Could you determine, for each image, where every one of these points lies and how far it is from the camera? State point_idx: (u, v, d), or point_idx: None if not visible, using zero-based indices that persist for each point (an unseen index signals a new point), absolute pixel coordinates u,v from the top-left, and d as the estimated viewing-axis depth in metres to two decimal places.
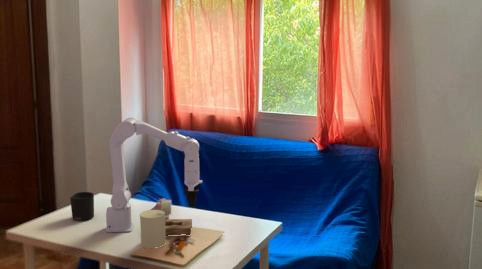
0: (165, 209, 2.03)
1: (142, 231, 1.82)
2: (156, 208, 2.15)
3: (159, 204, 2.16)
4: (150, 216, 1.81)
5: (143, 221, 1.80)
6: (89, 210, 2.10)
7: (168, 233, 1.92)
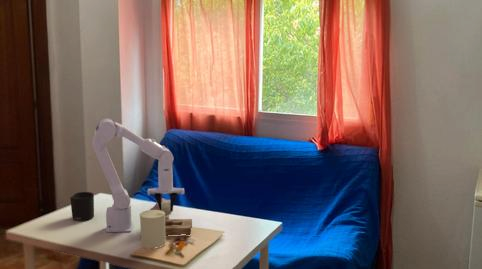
0: (165, 209, 2.03)
1: (142, 231, 1.82)
2: (155, 207, 2.15)
3: None
4: (150, 216, 1.81)
5: (143, 221, 1.80)
6: (89, 210, 2.10)
7: (168, 233, 1.92)
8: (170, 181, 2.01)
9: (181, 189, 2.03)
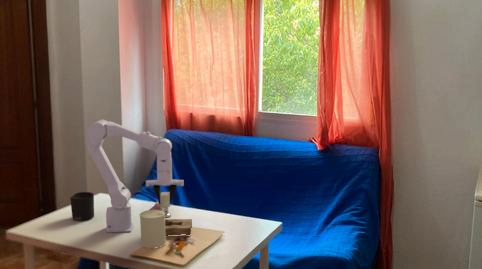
0: (164, 201, 1.98)
1: (142, 231, 1.82)
2: (155, 207, 2.15)
3: (158, 204, 2.16)
4: (150, 216, 1.81)
5: (143, 221, 1.80)
6: (89, 210, 2.10)
7: (168, 233, 1.92)
8: (169, 172, 1.95)
9: (180, 181, 1.98)
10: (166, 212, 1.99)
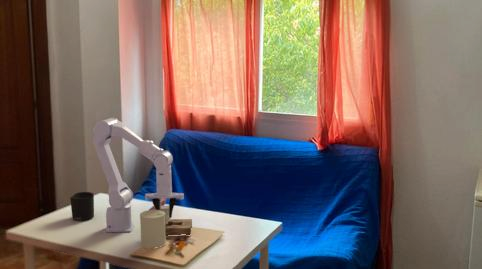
0: None
1: (142, 231, 1.82)
2: (154, 207, 2.15)
3: None
4: (150, 216, 1.81)
5: (143, 221, 1.80)
6: (89, 210, 2.10)
7: (168, 233, 1.92)
8: (169, 186, 1.92)
9: (180, 194, 1.95)
10: None
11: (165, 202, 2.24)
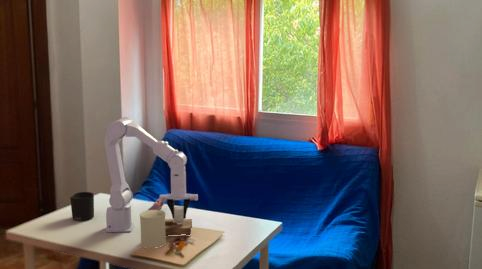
0: (178, 216, 1.95)
1: (142, 231, 1.82)
2: (153, 207, 2.16)
3: (157, 204, 2.16)
4: (150, 216, 1.81)
5: (143, 221, 1.80)
6: (89, 210, 2.10)
7: (168, 233, 1.92)
8: (183, 187, 1.92)
9: (195, 195, 1.95)
10: None
11: (164, 202, 2.24)
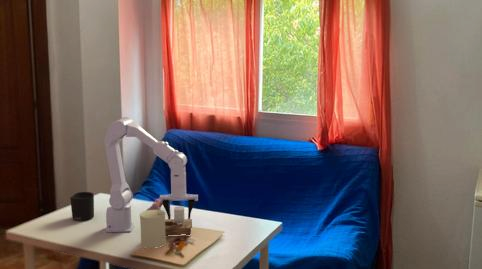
0: (178, 216, 1.95)
1: (142, 231, 1.82)
2: (152, 207, 2.16)
3: (156, 204, 2.16)
4: (150, 216, 1.81)
5: (143, 221, 1.80)
6: (89, 210, 2.10)
7: (168, 233, 1.92)
8: (183, 187, 1.92)
9: (195, 196, 1.95)
10: None
11: None
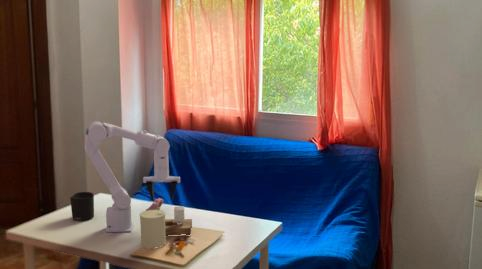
0: (178, 216, 1.95)
1: (142, 231, 1.82)
2: (152, 207, 2.16)
3: (155, 204, 2.16)
4: (150, 216, 1.81)
5: (143, 221, 1.80)
6: (89, 210, 2.10)
7: (168, 233, 1.92)
8: (166, 169, 2.01)
9: (177, 177, 2.03)
10: None
11: None
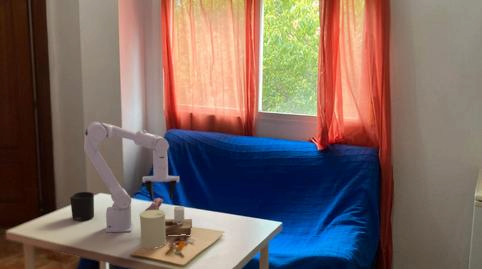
0: (178, 216, 1.95)
1: (142, 231, 1.82)
2: (151, 207, 2.16)
3: (154, 204, 2.16)
4: (150, 216, 1.81)
5: (143, 221, 1.80)
6: (89, 210, 2.10)
7: (168, 233, 1.92)
8: (165, 169, 2.01)
9: (176, 177, 2.04)
10: None
11: None
